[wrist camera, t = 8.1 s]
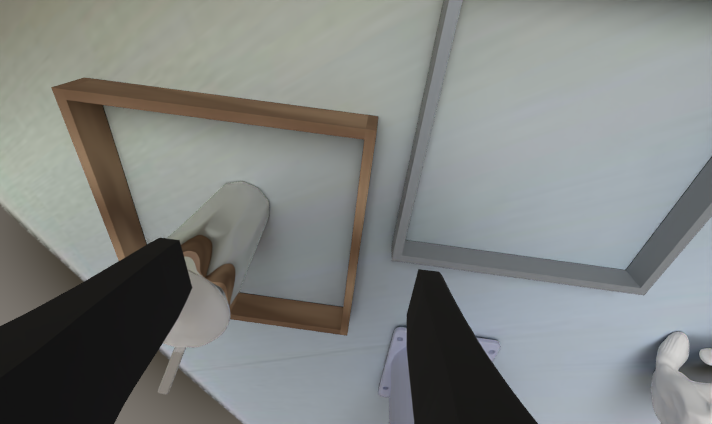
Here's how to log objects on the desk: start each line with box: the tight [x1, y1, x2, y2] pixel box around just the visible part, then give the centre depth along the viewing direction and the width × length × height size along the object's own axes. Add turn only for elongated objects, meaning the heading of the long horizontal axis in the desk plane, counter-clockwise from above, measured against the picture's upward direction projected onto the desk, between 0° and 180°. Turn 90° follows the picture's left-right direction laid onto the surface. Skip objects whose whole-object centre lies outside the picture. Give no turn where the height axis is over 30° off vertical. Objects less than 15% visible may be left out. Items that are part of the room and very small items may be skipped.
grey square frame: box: [392, 0, 712, 295], centre depth 16 cm, size 15×15×2 cm
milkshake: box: [158, 181, 269, 394], centre depth 17 cm, size 4×5×10 cm
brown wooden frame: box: [51, 78, 378, 335], centre depth 20 cm, size 15×15×2 cm
